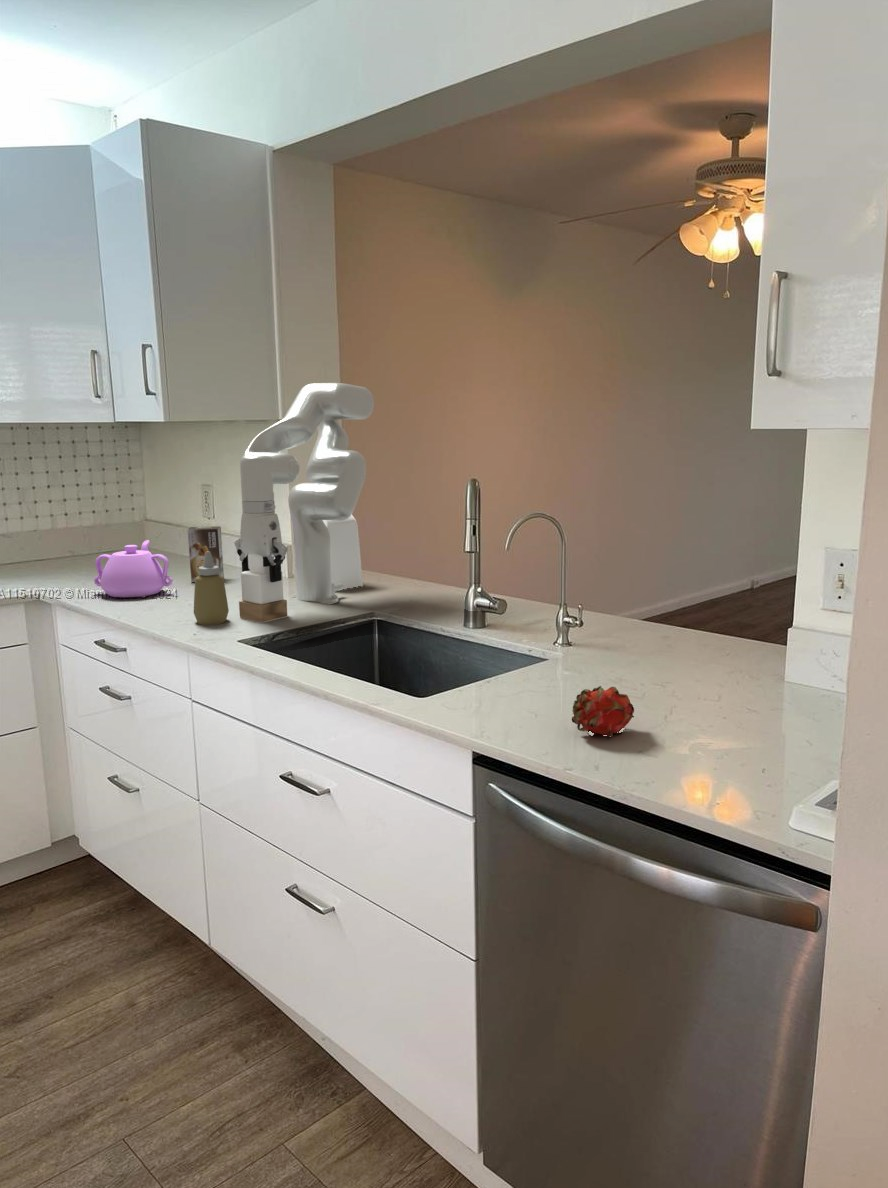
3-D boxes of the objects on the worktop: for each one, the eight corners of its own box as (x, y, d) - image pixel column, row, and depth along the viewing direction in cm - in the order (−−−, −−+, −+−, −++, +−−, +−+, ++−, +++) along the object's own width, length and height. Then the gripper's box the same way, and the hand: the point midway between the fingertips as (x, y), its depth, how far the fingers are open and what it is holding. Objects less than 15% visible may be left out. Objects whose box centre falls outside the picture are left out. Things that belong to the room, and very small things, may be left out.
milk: (328, 592, 256) (325, 499, 250) (305, 586, 264) (302, 496, 259) (362, 586, 264) (360, 496, 258) (339, 580, 272) (336, 493, 267)
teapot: (187, 585, 267) (184, 538, 264) (163, 600, 246) (160, 550, 243) (113, 585, 267) (109, 538, 265) (82, 600, 246) (78, 550, 243)
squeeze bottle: (194, 631, 211) (189, 555, 208) (194, 624, 219) (189, 550, 215) (230, 629, 213) (226, 553, 210) (228, 621, 221) (224, 548, 217)
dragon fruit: (565, 748, 143) (624, 745, 148) (596, 731, 136) (657, 729, 142) (552, 697, 146) (611, 696, 152) (583, 677, 139) (643, 677, 145)
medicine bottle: (264, 596, 224) (262, 548, 222) (284, 599, 220) (282, 550, 217) (241, 601, 219) (239, 551, 216) (261, 605, 214) (258, 554, 212)
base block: (265, 611, 226) (264, 595, 225) (287, 616, 221) (286, 599, 220) (239, 617, 219) (239, 601, 218) (262, 622, 215) (261, 605, 214)
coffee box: (225, 578, 277) (222, 525, 274) (221, 582, 271) (218, 528, 267) (194, 579, 276) (191, 526, 273) (190, 583, 270) (186, 529, 267)
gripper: (295, 508, 212) (298, 580, 216) (246, 504, 223) (249, 573, 226) (271, 511, 207) (274, 585, 210) (222, 507, 217) (225, 577, 220)
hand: (261, 579), depth 218 cm, fingers open, 9 cm apart
